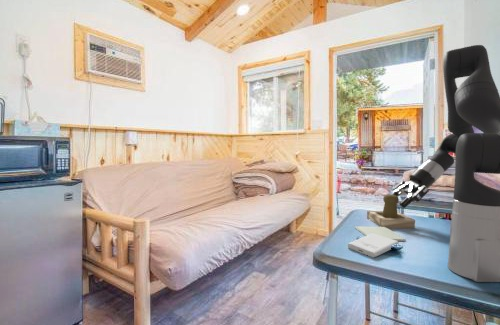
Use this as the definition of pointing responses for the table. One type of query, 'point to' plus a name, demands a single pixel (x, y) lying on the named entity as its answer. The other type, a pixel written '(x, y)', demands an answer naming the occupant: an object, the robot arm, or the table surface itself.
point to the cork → (390, 206)
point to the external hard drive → (372, 245)
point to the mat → (380, 232)
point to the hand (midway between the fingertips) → (395, 203)
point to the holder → (391, 220)
